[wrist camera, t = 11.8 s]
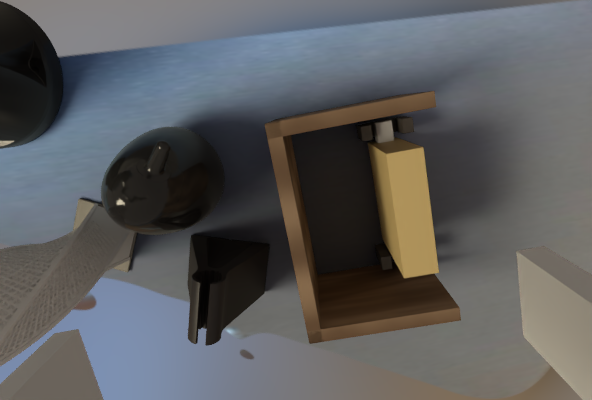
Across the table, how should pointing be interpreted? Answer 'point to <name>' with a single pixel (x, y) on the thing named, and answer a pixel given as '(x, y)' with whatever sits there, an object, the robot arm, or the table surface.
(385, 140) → the yellow rectangular block
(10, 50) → the robot arm
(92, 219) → the skyscraper
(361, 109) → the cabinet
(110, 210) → the pump dispenser
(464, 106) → the table surface
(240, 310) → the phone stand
